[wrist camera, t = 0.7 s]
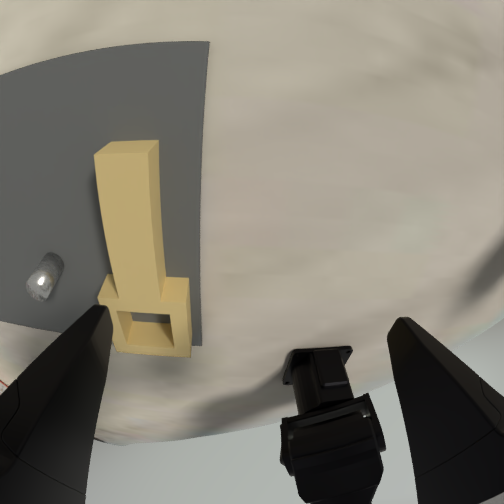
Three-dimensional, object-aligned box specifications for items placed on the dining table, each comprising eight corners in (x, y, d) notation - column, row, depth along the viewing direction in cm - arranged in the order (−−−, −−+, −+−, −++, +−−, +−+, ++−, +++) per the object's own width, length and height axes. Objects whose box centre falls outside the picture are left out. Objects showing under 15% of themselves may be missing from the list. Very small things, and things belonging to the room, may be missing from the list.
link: (192, 333, 25) (190, 357, 23) (122, 328, 24) (116, 351, 22) (188, 140, 16) (181, 152, 14) (86, 143, 15) (67, 156, 13)
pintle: (67, 273, 20) (51, 302, 17) (48, 271, 20) (31, 299, 17) (60, 252, 19) (42, 281, 16) (41, 251, 19) (22, 279, 16)
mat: (201, 343, 26) (201, 345, 26) (-5, 317, 23) (-6, 319, 23) (209, 41, 13) (209, 41, 12) (-69, 109, 10) (-72, 110, 9)
